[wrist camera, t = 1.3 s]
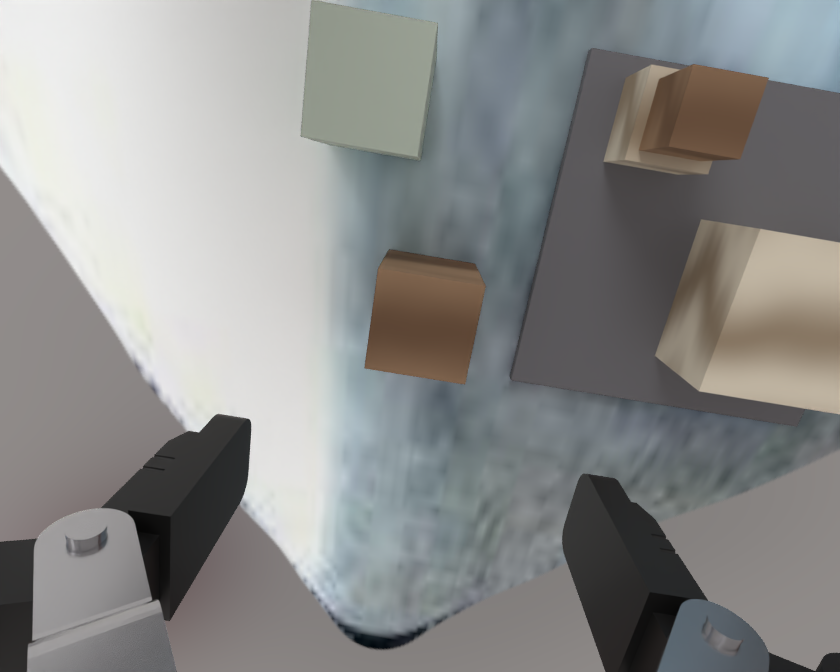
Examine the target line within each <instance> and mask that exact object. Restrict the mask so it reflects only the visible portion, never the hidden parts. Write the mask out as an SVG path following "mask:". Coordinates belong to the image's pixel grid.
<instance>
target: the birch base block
mask: <svg viewBox="0 0 840 672" xmlns="http://www.w3.org/2000/svg"><path fill="white" fill-rule="evenodd" d="M655 356H656V357H657V358H658V359H659V360H661V361H662V362H663V363H664V364H666V365H667V366H668V367H669V368H671V369H672V370H673V371H674V372H676V373H677V374H678V375H679V376H681V377H682V378H683V379H684V380H686V381H687V382H688V383H689V384H690V385H692V386H693V387H694V388H695V389H697V390H698V391H700V392H706V393H712V394H719V395H725V396H731V397H737V398H743V399H749V400H755V401H762V402H768V403H774V404H780V405H786V406H792V407H798V408H804V409H811V410H817V411H823V412H829V413H835V414H840V243H839V242H833V241H828V240H822V239H816V238H810V237H805V236H799V235H793V234H787V233H781V232H776V231H770V230H764V229H758V228H752V227H746V226H740V225H733V224H727V223H721V222H715V221H708V220H702V219H701V221H700V224H699V227H698V230H697V233H696V236H695V239H694V242H693V245H692V248H691V251H690V254H689V257H688V260H687V263H686V266H685V269H684V271H683V274H682V277H681V280H680V283H679V286H678V289H677V292H676V295H675V298H674V301H673V304H672V307H671V310H670V313H669V316H668V319H667V322H666V325H665V327H664V330H663V333H662V336H661V339H660V342H659V345H658V348H657V351H656V354H655Z"/></svg>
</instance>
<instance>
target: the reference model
mask: <svg viewBox="0 0 840 672" xmlns="http://www.w3.org/2000/svg"><path fill="white" fill-rule="evenodd" d="M768 79H769V78H767V77H761V76H756V75H750V74H745V73H739V72H734V71H728V70H723V69H717V68H712V67H706V66H701V65H696V64H693V65H690V66H688V67H686V68H683V69H681V70H679V69H674V68H668V67H663V66H657V65H650V66H648V67H646V68H644V69H642V70H640V71H638V72H636V73H634V74H632V75H630V76H628V77H626V79H625V83H624V86H623V90H622V94H621V98H620V101H619V105H618V109H617V113H616V116H615V120H614V124H613V128H612V131H611V135H610V139H609V142H608V146H607V150H606V154H605V157H604V161H603V162H608V163H614V164H620V165H626V166H631V167H637V168H643V169H648V170H654V171H660V172H665V173H671V174H677V175H696V174H708V173H709V170H710V167H711V164H712V161H718V160H736V159H741V156H742V153H743V150H744V147H745V144H746V142H747V139H748V136H749V133H750V130H751V127H752V124H753V122H754V119H755V116H756V113H757V110H758V107H759V104H760V102H761V99H762V96H763V93H764V90H765V87H766V85H767V82H768Z"/></svg>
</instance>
